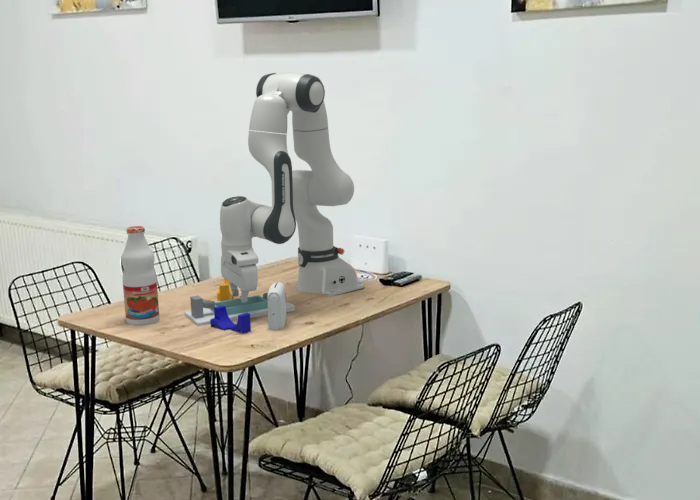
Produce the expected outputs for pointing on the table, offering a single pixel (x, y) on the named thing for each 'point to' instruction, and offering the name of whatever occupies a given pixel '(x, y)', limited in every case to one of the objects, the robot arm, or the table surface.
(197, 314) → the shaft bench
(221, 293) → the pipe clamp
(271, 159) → the robot arm
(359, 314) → the table surface
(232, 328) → the blue curved cradle
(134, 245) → the fruit juice
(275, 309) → the photo printer
